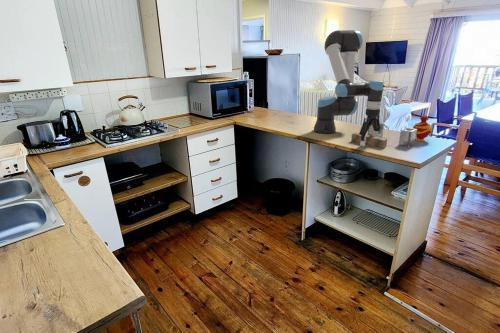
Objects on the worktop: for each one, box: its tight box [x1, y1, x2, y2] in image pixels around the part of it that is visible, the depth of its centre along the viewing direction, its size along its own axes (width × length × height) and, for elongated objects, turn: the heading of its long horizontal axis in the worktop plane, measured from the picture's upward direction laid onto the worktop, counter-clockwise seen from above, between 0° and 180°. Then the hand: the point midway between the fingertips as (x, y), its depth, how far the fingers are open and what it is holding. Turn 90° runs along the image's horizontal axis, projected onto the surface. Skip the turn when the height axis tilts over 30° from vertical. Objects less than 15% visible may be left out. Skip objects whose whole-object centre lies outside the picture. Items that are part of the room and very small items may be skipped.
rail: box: [350, 132, 388, 149], centre depth 176 cm, size 20×4×5 cm, turn 42°
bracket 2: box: [398, 127, 418, 148], centre depth 173 cm, size 6×8×9 cm
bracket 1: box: [366, 122, 385, 138], centre depth 187 cm, size 6×8×9 cm
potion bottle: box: [412, 115, 433, 142], centre depth 180 cm, size 10×10×15 cm
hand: (368, 143), depth 177 cm, fingers open, 13 cm apart
